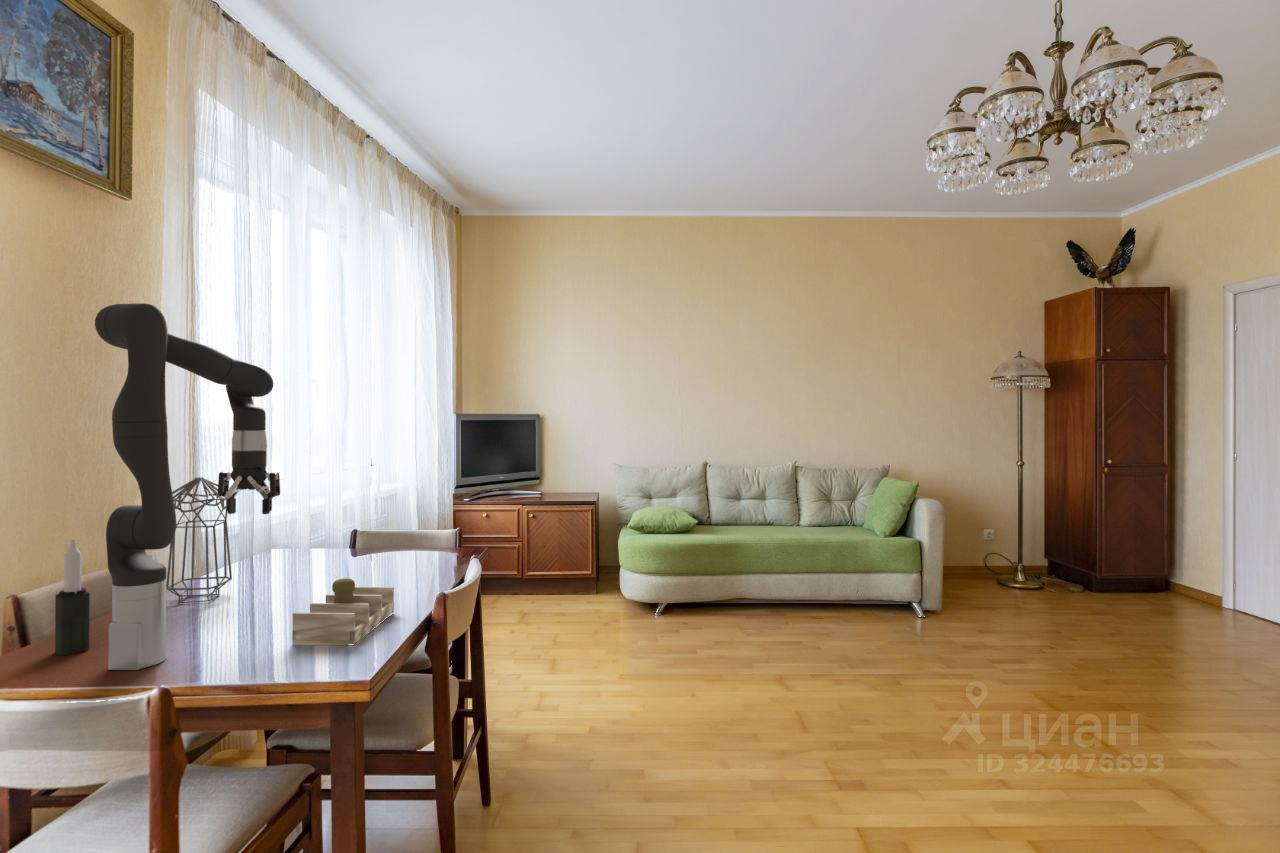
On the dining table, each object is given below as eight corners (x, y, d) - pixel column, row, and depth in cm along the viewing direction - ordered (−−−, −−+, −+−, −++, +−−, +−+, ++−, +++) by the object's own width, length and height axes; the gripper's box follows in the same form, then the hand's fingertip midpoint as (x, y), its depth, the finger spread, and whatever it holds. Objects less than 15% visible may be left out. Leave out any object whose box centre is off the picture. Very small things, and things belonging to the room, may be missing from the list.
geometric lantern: (239, 591, 202) (239, 474, 202) (218, 606, 187) (219, 479, 187) (180, 594, 199) (180, 475, 199) (154, 608, 183) (154, 479, 183)
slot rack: (353, 645, 155) (353, 614, 155) (292, 644, 155) (292, 613, 155) (393, 614, 181) (393, 587, 181) (341, 613, 181) (341, 586, 181)
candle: (62, 656, 146) (63, 541, 146) (53, 652, 149) (53, 538, 149) (91, 649, 151) (91, 537, 150) (81, 645, 153) (82, 535, 153)
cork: (347, 627, 164) (347, 582, 164) (324, 626, 165) (325, 581, 165) (361, 620, 170) (361, 577, 170) (339, 619, 171) (339, 575, 171)
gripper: (211, 449, 165) (210, 515, 165) (269, 449, 165) (269, 516, 165) (229, 447, 172) (229, 511, 172) (285, 448, 172) (285, 512, 172)
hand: (249, 513), depth 169 cm, fingers open, 8 cm apart
